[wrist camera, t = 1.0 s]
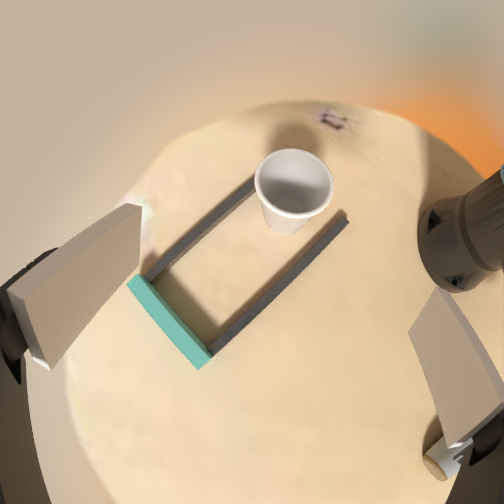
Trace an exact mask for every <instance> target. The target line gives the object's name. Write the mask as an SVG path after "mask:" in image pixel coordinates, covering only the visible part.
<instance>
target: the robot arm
mask: <svg viewBox="0 0 504 504" xmlns="http://www.w3.org/2000/svg"><path fill="white" fill-rule="evenodd" d="M141 216H142V207H141V206H137V205H133V204H129V203H126V204H124V205H122V206H121V207H119V208H117V209H116V210H114V211H113V212H111V213H109V214H108V215H106V216H105V217H103V218H102V219H100V220H99V221H97V222H96V223H94V224H92V225H91V226H89V227H88V228H87V229H85V230H84V231H82V232H81V233H79V234H78V235H76V236H75V237H73V238H72V239H71V240H69V241H68V242H66V243H65V244H64V245H62V246H61V247H59V248H54V249H52V250H49V251H46V252H44V253H43V254H41V255H40V256H39V257H38V258H36V259H35V260H34V262H31V263H29V264H28V265H27V266H26V268H23V269H22V270H21V271H19V272H18V273H17V274H15V275H14V276H13V277H12V278H11V279H9V280H8V281H7V282H6V283H5V284H3V285H2V286H1V287H0V504H51V501H50V498H49V495H48V492H47V489H46V486H45V483H44V479H43V476H42V472H41V469H40V465H39V461H38V457H37V452H36V448H35V443H34V438H33V432H32V426H31V421H30V420H31V419H30V412H29V405H28V395H27V381H26V361H25V357H24V355H23V354H24V352H25V351H26V350H27V349H28V348H29V351H30V353H31V355H32V357H33V359H34V361H36V362H37V363H39V364H40V365H42V366H43V367H45V368H47V369H48V370H50V371H52V369H53V368H54V367H55V365H56V364H57V363H58V361H59V360H60V359H61V357H62V356H63V355H64V353H65V352H66V351H67V349H68V348H69V347H70V346H71V344H72V343H73V342H74V340H75V339H76V338H77V337H78V335H79V334H80V333H81V332H82V330H83V329H84V328H85V327H86V325H87V324H88V323H89V322H90V320H91V319H92V318H93V317H94V316H95V314H96V313H97V312H98V311H99V310H100V308H101V307H102V306H103V305H104V304H105V303H106V301H107V300H108V299H109V298H110V297H111V296H112V294H113V293H114V292H115V291H116V290H117V289H118V287H119V286H120V285H121V284H122V283H123V282H124V281H125V280H126V278H127V277H128V276H129V275H130V274H131V273H132V272H133V271H134V270H135V268H136V267H137V266H138V265H139V256H140V232H141ZM418 246H419V252H420V255H421V259H422V262H423V264H424V266H425V269H426V270H427V272H428V274H429V275H430V277H431V278H432V279H433V281H434V282H435V283H436V284H437V285H438V286H439V287H441V288H439V287H435V289H434V291H433V293H432V294H431V296H430V298H429V300H428V301H427V303H426V305H425V306H424V308H423V309H422V311H421V313H420V314H419V316H418V317H417V319H416V321H415V322H414V324H413V325H412V327H411V328H410V330H409V331H408V334H409V336H410V338H411V341H412V343H413V346H414V348H415V351H416V353H417V356H418V358H419V361H420V363H421V366H422V369H423V371H424V374H425V377H426V380H427V382H428V385H429V388H430V391H431V394H432V397H433V400H434V403H435V406H436V409H437V413H438V416H439V419H440V423H441V426H442V430H443V433H444V437H445V441H446V445H447V449H448V448H453V447H458V446H461V445H462V444H463V443H465V442H466V441H467V440H469V439H470V438H471V437H472V440H473V442H472V443H471V444H470V445H468V446H467V447H466V448H464V449H463V450H462V451H460V452H459V453H458V454H456V455H455V456H454V457H453V460H455V459H457V458H458V457H460V456H463V457H462V458H460V459H459V460H458V461H457V462H458V463H459V464H461V466H460V469H459V472H458V475H457V477H456V480H455V482H454V485H453V487H452V490H451V492H450V494H449V497H448V499H447V501H446V503H445V504H504V383H503V381H502V379H501V377H500V375H499V373H498V371H497V369H496V367H495V366H494V364H493V362H492V360H491V358H490V356H489V355H488V353H487V351H486V349H485V348H484V346H483V344H482V343H481V341H480V339H479V338H478V336H477V334H476V333H475V331H474V329H473V328H472V326H471V325H470V323H469V322H468V320H467V319H466V317H465V315H464V314H463V312H462V311H461V309H460V308H459V307H458V305H457V304H456V302H455V301H454V299H453V298H452V296H451V295H450V294H449V292H452V293H460V292H465V291H469V290H471V289H473V288H475V287H476V286H478V285H479V284H480V283H481V282H482V281H483V280H485V279H486V278H487V277H488V276H489V275H490V274H491V273H492V272H493V271H496V270H499V269H502V270H503V273H504V164H503V165H502V166H501V169H500V170H499V171H497V172H496V173H495V174H494V175H492V176H491V177H490V178H488V179H487V180H485V181H484V182H483V183H481V184H480V185H478V186H477V187H476V188H474V189H473V190H471V191H470V192H469V193H467V194H466V195H463V196H456V197H450V198H444V199H441V200H439V201H437V202H435V203H434V204H433V205H431V206H430V207H429V208H428V209H427V210H426V211H425V212H424V214H423V215H422V217H421V220H420V223H419V228H418Z"/></svg>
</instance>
